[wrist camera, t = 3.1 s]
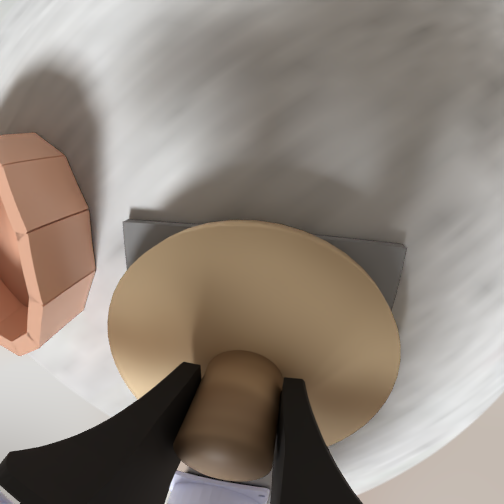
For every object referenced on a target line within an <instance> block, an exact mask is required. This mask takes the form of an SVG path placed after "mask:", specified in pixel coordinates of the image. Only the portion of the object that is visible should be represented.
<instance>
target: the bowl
mask: <svg viewBox="0 0 504 504" xmlns="http://www.w3.org/2000/svg"><path fill="white" fill-rule="evenodd" d="M87 209H89V208H88V206H87V204H86V202H85V199H84V197H83V195H82V193H81V191H80V189H79V186H78V184H77V182H76V180H75V177H74V175H73V173H72V170H71V168H70V166H69V163H68V161H67V158H66V156H65V155H64V154H63V153H61V152H60V151H59V150H57V149H56V148H55V147H53V146H52V145H51V144H49V143H48V142H47V141H45V140H44V139H43V138H41V137H40V136H39V135H38V134H36V133H18V134H6V135H0V345H1V346H3V347H5V348H6V349H8V350H10V351H11V352H13V353H15V354H16V355H18V356H22V355H24V354H27V353H29V352H31V351H34V350H36V349H38V348H40V347H41V346H42V345H43V344H44V343H45V342H47V341H48V340H49V339H50V338H51V337H52V336H53V335H55V334H56V333H57V332H58V331H59V330H60V329H62V328H63V327H64V326H65V325H66V324H67V323H69V322H70V321H71V320H72V319H73V318H74V317H76V316H77V315H78V314H79V313H80V312H82V311H83V310H84V307H85V303H86V300H87V297H88V293H89V290H90V287H91V283H92V280H93V277H94V274H95V271H96V270H95V269H96V267H95V260H94V253H93V245H92V236H91V226H90V214H89V210H87Z"/></svg>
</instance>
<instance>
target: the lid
mask: <svg viewBox="0 0 504 504" xmlns="http://www.w3.org/2000/svg"><path fill="white" fill-rule="evenodd" d="M108 338H109V343H110V349H111V352H112V355H113V358H114V361H115V364H116V366H117V368H118V370H119V373H120V375H121V377H122V378H123V380H124V381H125V383H126V385H127V386H128V388H129V389H130V391H131V392H132V393H133V394H134V396H135V397H136V398H137V399H139V398H141V397H142V396H143V395H145V394H146V393H147V392H148V391H150V390H151V389H152V388H153V387H155V386H156V385H157V384H158V383H159V382H161V381H162V380H163V379H164V378H165V377H166V376H167V375H169V374H170V373H171V372H172V371H173V370H174V369H175V368H176V367H178V366H179V365H180V364H181V363H182V362H188V363H193V364H198V365H201V379H202V380H201V382H200V384H199V387H198V389H197V391H196V394H195V396H194V398H193V400H192V403H191V405H190V407H189V409H188V412H187V414H186V416H185V418H184V421H183V423H182V425H181V427H180V430H179V432H178V434H177V437H176V439H175V441H174V443H173V449H174V452H175V454H176V455H177V456H178V458H179V459H180V460H181V461H182V462H183V463H185V464H186V465H187V466H189V467H190V468H192V469H194V470H196V471H198V472H200V473H202V474H205V475H207V476H210V477H213V478H217V479H222V480H227V481H252V480H257V479H260V478H262V477H264V476H266V475H267V474H269V472H270V471H271V469H272V464H273V457H274V450H275V443H276V435H277V428H278V419H279V409H280V401H281V392H282V386H283V380H284V377H287V378H298V379H303V380H304V381H305V385H306V390H307V394H308V398H309V401H310V405H311V408H312V411H313V414H314V417H315V419H316V422H317V424H318V427H319V429H320V432H321V434H322V437H323V439H324V441H325V443H326V445H327V447H328V446H330V445H332V444H335V443H337V442H339V441H341V440H343V439H345V438H346V437H348V436H350V435H351V434H353V433H355V432H356V431H357V430H359V429H360V428H361V427H363V426H364V425H365V424H366V423H367V422H368V421H369V420H370V419H371V418H372V417H373V416H374V415H375V414H376V413H377V412H378V411H379V410H380V408H381V407H382V406H383V404H384V403H385V402H386V400H387V398H388V396H389V395H390V393H391V391H392V389H393V386H394V384H395V381H396V378H397V376H398V370H399V365H400V339H399V333H398V328H397V325H396V322H395V320H394V317H393V314H392V312H391V310H390V308H389V306H388V304H387V302H386V300H385V298H384V296H383V295H382V293H381V291H380V290H379V288H378V286H377V285H376V283H375V282H374V281H373V279H372V278H371V277H370V276H369V275H368V274H367V272H366V271H365V270H364V269H363V268H362V267H361V266H360V265H359V264H358V263H357V262H355V261H354V260H353V259H352V258H351V257H350V256H348V255H347V254H346V253H345V252H343V251H341V250H340V249H338V248H337V247H335V246H334V245H332V244H330V243H329V242H327V241H325V240H323V239H321V238H319V237H317V236H314V235H312V234H310V233H308V232H305V231H303V230H299V229H296V228H293V227H289V226H286V225H282V224H278V223H271V222H265V221H258V220H226V221H217V222H209V223H205V224H202V225H198V226H194V227H191V228H187V229H185V230H183V231H181V232H178V233H176V234H174V235H172V236H170V237H168V238H166V239H165V240H163V241H162V242H160V243H159V244H157V245H156V246H154V247H153V248H151V249H150V250H148V251H147V252H145V253H144V254H143V255H142V256H141V257H139V258H138V259H137V260H136V261H135V262H134V263H133V264H132V265H131V266H130V267H129V268H128V270H127V271H126V272H125V274H124V275H123V277H122V278H121V279H120V281H119V283H118V285H117V287H116V289H115V291H114V293H113V296H112V300H111V303H110V307H109V314H108Z"/></svg>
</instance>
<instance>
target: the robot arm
mask: <svg viewBox="0 0 504 504" xmlns="http://www.w3.org/2000/svg"><path fill="white" fill-rule="evenodd" d="M201 380H202V379H201V365H198V364H193V363H188V362H182V363H181V364H180V365H179V366H178V367H176V368H175V369H174V370H173V371H172V372H171V373H170V374H169V375H167V376H166V377H165V378H164V379H163V380H162V381H161V382H159V383H158V384H157V385H156V386H155V387H153V388H152V389H151V390H150V391H148V392H147V393H146V394H145V395H143V396H142V397H141V398H139V399H138V400H137V401H135V402H134V403H133V404H131V405H130V406H128V407H127V408H125V409H124V410H122V411H121V412H119V413H118V414H116V415H115V416H113V417H111V418H110V419H108V420H107V421H104V422H103V423H101V424H99V425H97V426H95V427H93V428H91V429H89V430H87V431H84V432H82V433H80V434H78V435H75V436H73V437H70V438H67V439H64V440H61V441H58V442H55V443H52V444H49V445H45V446H41V447H36V448H31V449H25V450H19V451H12V452H9V454H8V455H7V456H6V457H5V459H4V460H3V461H2V462H1V464H0V485H1V486H2V487H3V488H4V489H5V490H6V491H7V492H8V493H10V494H11V495H12V496H13V497H14V498H15V499H17V500H18V501H19V502H20V504H164V503H165V500H166V497H167V494H168V491H169V489H170V491H171V494H170V496H169V499H168V501H167V504H267V501H268V497H269V494H270V490H269V489H267V488H263V487H255V486H248V485H241V484H235V483H230V482H224V481H219V480H214V479H209V478H205V477H200V476H196V475H192V474H188V473H184V472H181V471H177V468H178V466H179V464H180V461H181V460H180V459H179V458H178V456H177V455H176V454H175V452H174V449H173V443H174V441H175V439H176V437H177V434H178V432H179V430H180V427H181V425H182V423H183V421H184V418H185V416H186V414H187V412H188V409H189V407H190V405H191V403H192V400H193V398H194V396H195V394H196V391H197V389H198V387H199V384H200V382H201ZM0 504H14V503H13V502H12V501H11V500H10V499H9V498H7V497H6V496H5V495H4V494H3V493H2V492H1V491H0ZM270 504H363V503H362V502H361V501H360V499H359V498H358V497H357V496H356V494H355V493H354V492H353V490H352V489H351V487H350V486H349V484H348V483H347V481H346V480H345V478H344V477H343V475H342V473H341V472H340V470H339V468H338V467H337V465H336V463H335V461H334V459H333V457H332V455H331V454H330V452H329V449H328V447H327V445H326V443H325V441H324V439H323V437H322V434H321V432H320V429H319V427H318V424H317V422H316V419H315V417H314V414H313V411H312V408H311V405H310V401H309V398H308V394H307V390H306V385H305V381H304V380H303V379H298V378H287V377H284V380H283V386H282V392H281V401H280V409H279V419H278V428H277V435H276V443H275V450H274V457H273V472H272V491H271V501H270Z"/></svg>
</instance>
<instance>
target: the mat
mask: <svg viewBox="0 0 504 504" xmlns="http://www.w3.org/2000/svg"><path fill="white" fill-rule="evenodd" d="M198 225H201V224H188V223H174V222H160V221H145V220H129V219H128V220H126V221H124V222H123V233H124V245H125V256H126V265H127V270H128V268H129V267H130V266H131V265H132V264H133V263H134V262H135V261H136V260H137V259H138V258H139V257H141V256H142V255H143V254H144V253H145V252H147V251H148V250H150V249H151V248H153V247H154V246H156V245H157V244H159V243H160V242H162V241H163V240H165V239H166V238H168V237H170V236H172V235H174V234H176V233H178V232H181V231H183V230H185V229H187V228H191V227H194V226H198ZM312 235H313V234H312ZM314 236H317V237H319V238H321V239H323V240H325V241H327V242H329V243H330V244H332V245H334V246H335V247H337V248H338V249H340V250H341V251H343V252H345V253H346V254H347V255H348V256H350V257H351V258H352V259H353V260H354V261H355V262H357V263H358V264H359V265H360V266H361V267H362V268H363V269H364V270H365V271H366V272H367V274H368V275H369V276H370V277H371V278H372V279H373V281H374V282H375V283H376V285H377V286H378V288H379V290H380V291H381V293H382V295H383V296H384V298H385V300H386V302H387V304H388V306H389V308H390V310H391V311H392V307H393V304H394V300H395V296H396V293H397V289H398V285H399V281H400V277H401V272H402V268H403V264H404V259H405V254H406V250H407V248H406V247H405V246H404V245H403V244H396V243H387V242H379V241H370V240H361V239H352V238H342V237H333V236H323V235H314Z"/></svg>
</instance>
